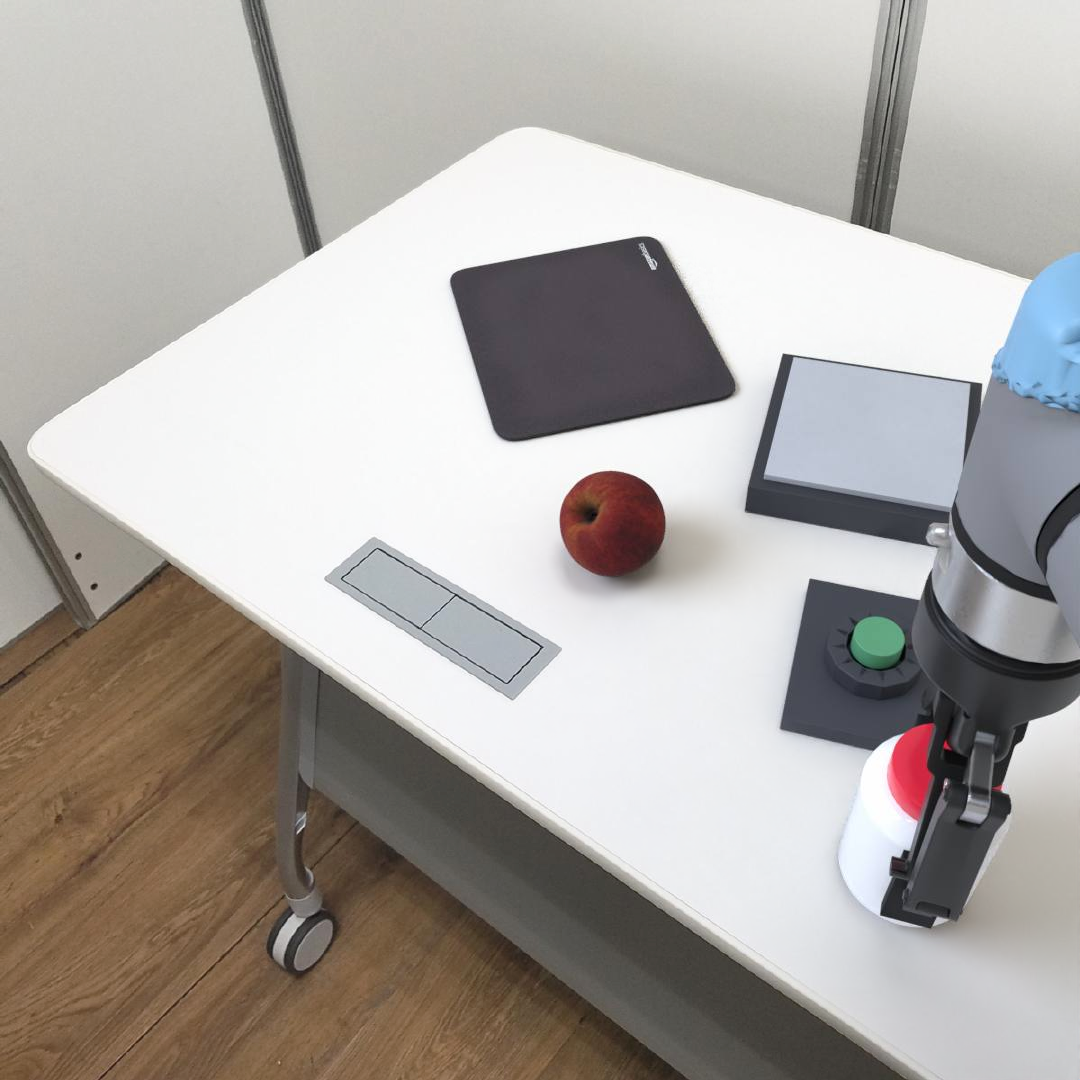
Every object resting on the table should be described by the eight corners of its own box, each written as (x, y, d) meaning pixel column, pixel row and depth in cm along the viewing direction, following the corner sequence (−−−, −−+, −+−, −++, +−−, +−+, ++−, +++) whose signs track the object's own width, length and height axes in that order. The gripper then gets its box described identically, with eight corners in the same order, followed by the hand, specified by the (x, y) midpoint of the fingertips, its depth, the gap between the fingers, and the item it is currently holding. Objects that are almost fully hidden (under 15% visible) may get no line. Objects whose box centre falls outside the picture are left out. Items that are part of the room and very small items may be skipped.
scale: (961, 552, 80) (973, 521, 78) (744, 511, 84) (748, 480, 82) (974, 409, 90) (984, 377, 88) (779, 378, 94) (783, 347, 91)
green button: (897, 674, 71) (902, 660, 69) (847, 663, 71) (851, 650, 70) (902, 635, 73) (907, 621, 71) (853, 625, 73) (857, 611, 72)
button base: (938, 766, 69) (949, 741, 67) (779, 729, 71) (784, 704, 69) (951, 619, 76) (961, 592, 74) (807, 589, 79) (812, 563, 77)
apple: (547, 536, 84) (541, 462, 78) (641, 508, 85) (643, 433, 79) (581, 608, 79) (578, 535, 73) (680, 577, 80) (685, 502, 74)
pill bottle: (947, 954, 61) (998, 866, 53) (816, 884, 64) (845, 790, 56) (992, 843, 65) (1046, 746, 57) (867, 782, 68) (901, 682, 60)
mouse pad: (741, 395, 93) (742, 393, 92) (498, 444, 90) (497, 442, 90) (655, 234, 109) (655, 233, 109) (446, 273, 106) (446, 271, 106)
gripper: (944, 421, 53) (866, 687, 70) (904, 789, 40) (820, 1005, 57) (1111, 448, 51) (989, 714, 68) (1125, 841, 38) (971, 1048, 55)
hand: (912, 846), depth 63 cm, fingers closed on pill bottle, 8 cm apart
